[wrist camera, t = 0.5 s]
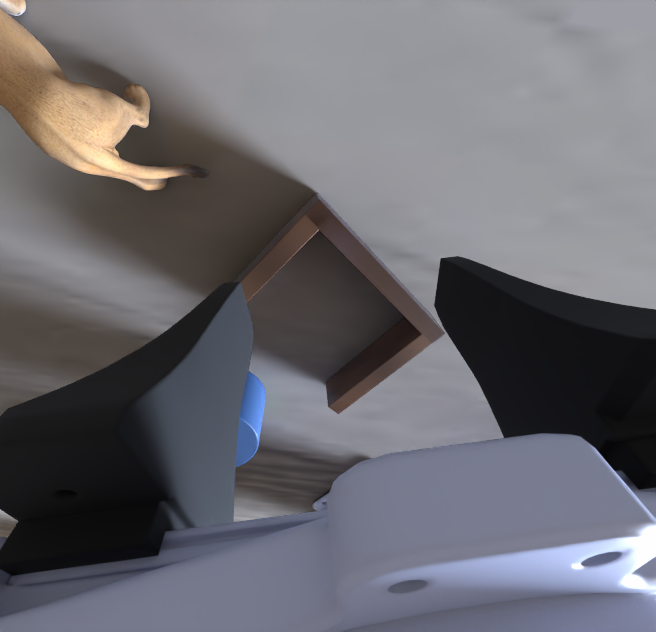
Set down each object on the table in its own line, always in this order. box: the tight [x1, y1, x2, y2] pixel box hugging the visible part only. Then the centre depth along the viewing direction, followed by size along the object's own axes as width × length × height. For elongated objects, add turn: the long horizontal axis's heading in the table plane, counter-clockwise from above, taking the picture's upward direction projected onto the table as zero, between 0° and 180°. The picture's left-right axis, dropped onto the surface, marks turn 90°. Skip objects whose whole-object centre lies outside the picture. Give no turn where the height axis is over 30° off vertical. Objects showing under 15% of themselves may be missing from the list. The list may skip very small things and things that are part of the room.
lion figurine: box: [0, 0, 208, 190], centre depth 12 cm, size 15×5×9 cm, turn 57°
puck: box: [236, 372, 266, 467], centre depth 25 cm, size 6×6×5 cm
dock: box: [233, 193, 445, 414], centre depth 22 cm, size 10×12×3 cm
